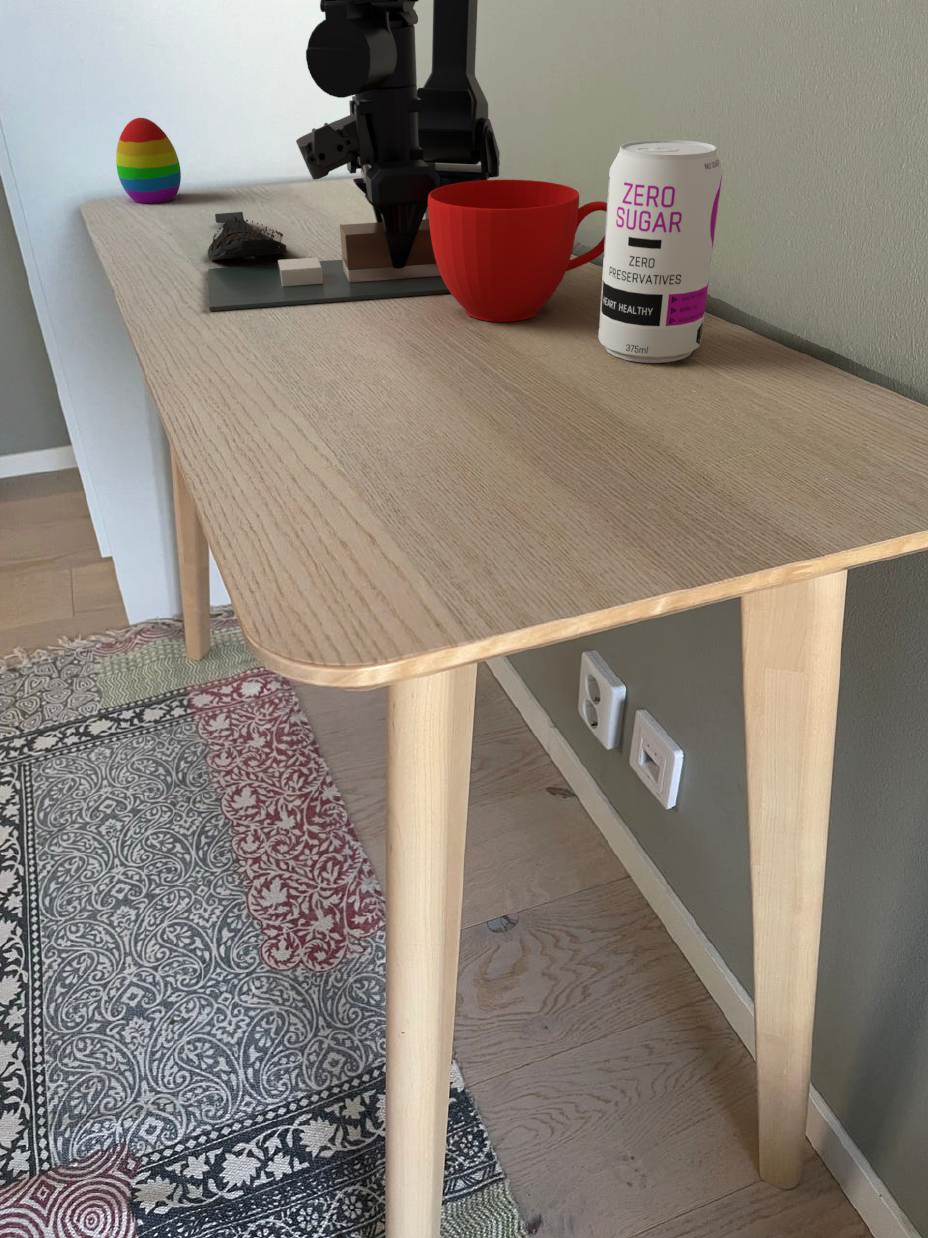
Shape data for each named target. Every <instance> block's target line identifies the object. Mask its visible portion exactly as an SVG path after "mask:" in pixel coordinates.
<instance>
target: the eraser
mask: <svg viewBox="0 0 928 1238" xmlns="http://www.w3.org/2000/svg"><path fill="white" fill-rule="evenodd" d="M339 233H340V235H339V236H340V246H341V260H343V271H344V273H345V275H346V277H347V279H348V281H349V283H352V282H366V281H379V280H392V279H405V278H419V277H432V276H441V274H440V272H439V269H438V266H437V263H436V259H435V255H434V251H433V246H432V240H431V233H430V224H429V219H425V218H423V219H422V222H421V224H420V227H419V229H418V232H417V234H416V237H415V240H414V243H413V245H412V248H411V251H410V253H409V256H408V259H407V262H406V264H405V267H404V268H397V269H395V268H394V267H393V265H392V261H391V256H390V252H389V247H388V243H387V238H386V234H385V229H384V225H383V222H364V223H348V224H340V225H339Z"/></svg>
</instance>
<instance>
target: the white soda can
mask: <svg viewBox="0 0 928 1238" xmlns="http://www.w3.org/2000/svg"><path fill="white" fill-rule="evenodd" d="M717 150H718V147H717V146H715V144H710V143H706V142H703V141H694V140H684V139H683V140H682V139H648V140H647V139H646V140H644V139H643V140H636V141H635V140H634V141H629V142H625V143H622V144H620V146H619V151H618V153H617V155H616V156H615V158H614V160H613V162H612V164H611V166H610V167H609V170H608V171H609V173H608V174H609V175H608V186H607V187H608V189H607V190H608V191H607V201H606V203H607V212H606V217H605V232H604V236H605V246H604V252H603V262H602V263H603V264H602V275H601V276H602V278H601V279H602V280H601V291H600V292H601V293H600V305H599V306H600V308H599V320H598V321H599V322H598V336H597V338H598V341H599V342H600V344H601V345H602V346H603V347H605V350H606V352H607V353H609V354H610V355H612V356H614V357H617V358H619V359H621V360H626V361H630V362H635V363H643V364H644V363H647V364H660V363H672V362H676V361H681V360H684V359H686V358H688V357H689V356H691V354H692V352H693V351H695V350H697V349H698V348H700V345H701V342H702V337H703V329H704V323H705V322H704V321H705V312H706V305H707V297H708V289H709V284H710V283H709V282H710V274H711V268H712V267H711V265H712V259H713V251H714V242H715V234H716V226H717V220H718V211H719V203H720V196H721V187H722V181H723V173H724V172H723V171H724V170H723V167H722V165H721V161H720V159H719V156H718V153H717Z"/></svg>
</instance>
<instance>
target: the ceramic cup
mask: <svg viewBox="0 0 928 1238" xmlns="http://www.w3.org/2000/svg"><path fill="white" fill-rule="evenodd" d="M598 211H604V212H606V213H607V201H602V200H601V201H600V200H597V201H590V202H588V203H586V204H584V205H581V206H580V192H579V191H578V190H577V189H575V188H573V187H571V186H568V185H564V184H559V183H555V182H548V181H543V180H531V179H487V180H481V181H470V182H461V183H455V184H450V185H446V186H442V187H439V188H436V189H434V190H433V191H431V192H430V194H429V195H428V214H429V224H430V233H431V240H432V246H433V251H434V255H435V259H436V263H437V266H438V269H439V272H440V274H441V277H442V279H443V281H444V283H445V285H446V287H447V288H448V290H449V291H450V293H449V294H451V295H452V297H453V298H454V299H455V300H456V302H457V303H458V304H459V305H460V306H461V307H462V308H463V309H464V310H465V313H466V315H468V316H469V317H471V318H474V319H477V320H481V321H487V322H496V323H497V322H498V323H505V322H518V321H524V320H527V319H531V318H533V317H535V316H537V315H538V314H539V312H540V310H541V309H542V307H544V305H546V303H547V302H548V301H549V300H550V299H551V297H552V296H553V295H554V293H555V292H556V290H557V289H558V288H559V286H560V285H561V283H562V281H563V279H564V277H565V275H566V273H567V272H569V271H572V270H574V269H577V268H579V267H581V266H584V265H586V264H588V263H590V262H592V261H593V260H595V259H597V258H598V257H600V256H601V255H602V254H604V246H605V235H604V236H603V237H602V238H601V240H600V241H599V242H598V243H597V244H596V245H595V246H594V247H593V248H591V249H590V250H588V251H586V252H585V253H583V254H581V255H578V256H577V257H574V258H572V253H573V249H574V245H575V240H576V234H577V232H578V228H579V226H580V224H581V223H582V221H583V220H584V219H585V218H587V216H588V215H591V214H592V213H594V212H598Z"/></svg>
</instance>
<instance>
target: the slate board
mask: <svg viewBox="0 0 928 1238" xmlns="http://www.w3.org/2000/svg"><path fill="white" fill-rule="evenodd" d="M319 262H320V265H321V267H322V276H323V284H313V285H299V286H286V287H282V284H281V280H280V276H279V267H278V263H273V264H272V263H271V264H258V265H257V264H256V265H243V266H230V267H229V266H226V267H213V268H208V269H207V272H208V273H207V276H208V308H209V312H219V311H232V310H233V311H234V310H245V309H260V308H273V307H285V306H298V305H312V304H313V305H314V304H324V303H337V302H338V303H339V302H350V301H351V302H353V301H363V300H379V299H390V298H391V299H393V298H404V297H417V296H418V297H419V296H432V295H444V294H451V293H450V291H449V290H448V288H447V287H446V285H445V283H444V281H443V279H442V277H441V276H432V277H419V278H405V279H392V280H379V281H366V282H352V283H349V281H348V279H347V277H346V275H345V273H344V271H343V259H331V260H319Z"/></svg>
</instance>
